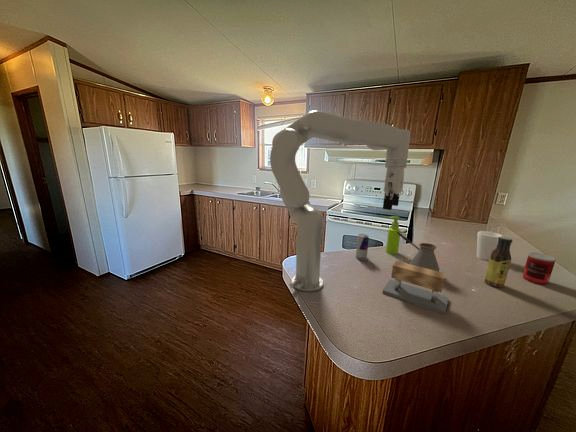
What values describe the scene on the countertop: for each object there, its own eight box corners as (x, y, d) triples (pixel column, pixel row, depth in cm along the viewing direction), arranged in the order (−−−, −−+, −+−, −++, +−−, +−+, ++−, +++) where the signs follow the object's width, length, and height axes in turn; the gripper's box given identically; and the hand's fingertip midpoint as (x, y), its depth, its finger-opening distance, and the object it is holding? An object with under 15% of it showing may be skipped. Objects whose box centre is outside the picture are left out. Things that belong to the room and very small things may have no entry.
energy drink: (367, 260, 116) (369, 237, 113) (356, 259, 117) (358, 236, 114) (366, 256, 121) (368, 234, 118) (355, 255, 122) (357, 233, 119)
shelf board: (391, 277, 87) (392, 265, 86) (394, 272, 91) (396, 260, 90) (441, 292, 78) (444, 278, 77) (442, 286, 82) (445, 273, 81)
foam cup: (498, 263, 114) (504, 238, 111) (474, 259, 118) (480, 235, 115) (493, 256, 122) (499, 232, 118) (471, 252, 126) (476, 230, 123)
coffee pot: (443, 274, 102) (449, 242, 99) (429, 281, 97) (435, 247, 93) (399, 257, 120) (403, 229, 116) (384, 262, 114) (388, 233, 110)
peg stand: (445, 314, 76) (448, 298, 75) (382, 292, 88) (384, 278, 87) (447, 299, 84) (450, 285, 83) (389, 282, 96) (391, 268, 94)
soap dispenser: (382, 250, 128) (386, 215, 124) (394, 250, 129) (398, 215, 124) (387, 254, 123) (391, 218, 118) (399, 254, 123) (404, 218, 118)
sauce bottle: (499, 289, 91) (511, 242, 86) (480, 282, 96) (491, 236, 91) (507, 285, 94) (519, 239, 89) (488, 278, 99) (499, 234, 94)
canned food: (540, 277, 101) (547, 253, 98) (553, 286, 93) (561, 261, 91) (517, 274, 103) (524, 251, 100) (529, 283, 96) (536, 258, 93)
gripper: (401, 164, 81) (395, 212, 85) (411, 163, 94) (405, 205, 98) (378, 164, 85) (374, 209, 89) (391, 163, 98) (387, 203, 103)
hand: (390, 207), depth 94 cm, fingers open, 9 cm apart
